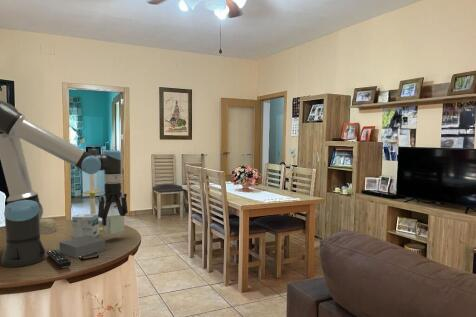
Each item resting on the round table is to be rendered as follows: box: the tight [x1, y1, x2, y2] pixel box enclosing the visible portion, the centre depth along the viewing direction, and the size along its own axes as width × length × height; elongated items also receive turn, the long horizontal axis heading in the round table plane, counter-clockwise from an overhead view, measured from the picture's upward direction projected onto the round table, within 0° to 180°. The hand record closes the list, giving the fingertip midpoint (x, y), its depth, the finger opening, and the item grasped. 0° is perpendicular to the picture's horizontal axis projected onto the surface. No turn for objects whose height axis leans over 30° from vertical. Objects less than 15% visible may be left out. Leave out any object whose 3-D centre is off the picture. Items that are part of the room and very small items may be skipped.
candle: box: [83, 173, 103, 232], centre depth 186 cm, size 10×10×38 cm
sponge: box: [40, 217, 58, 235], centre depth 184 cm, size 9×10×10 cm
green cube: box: [102, 213, 125, 235], centre depth 168 cm, size 7×7×7 cm
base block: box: [59, 235, 106, 260], centre depth 152 cm, size 13×13×5 cm
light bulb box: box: [71, 213, 100, 239], centre depth 175 cm, size 11×7×11 cm, turn 84°
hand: (113, 230), depth 168 cm, fingers closed on green cube, 7 cm apart
